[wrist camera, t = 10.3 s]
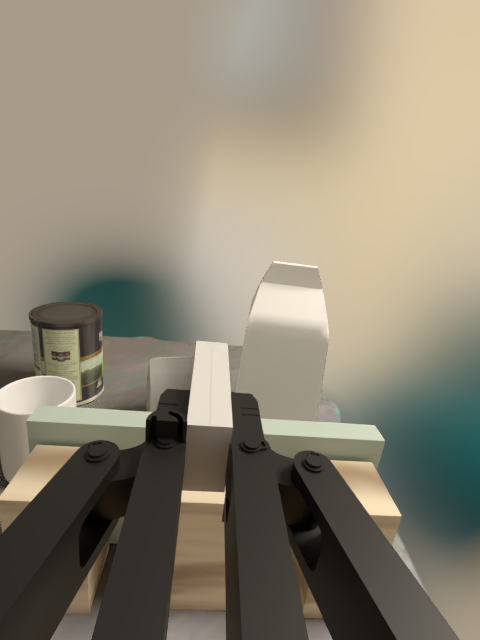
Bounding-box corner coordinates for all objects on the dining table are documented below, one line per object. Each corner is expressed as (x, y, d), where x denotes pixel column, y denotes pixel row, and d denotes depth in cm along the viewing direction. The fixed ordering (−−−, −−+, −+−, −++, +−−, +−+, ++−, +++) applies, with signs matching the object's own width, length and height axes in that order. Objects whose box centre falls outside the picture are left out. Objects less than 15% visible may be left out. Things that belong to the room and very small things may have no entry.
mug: (4, 435, 50) (-5, 367, 46) (71, 422, 54) (67, 358, 50) (2, 501, 40) (-10, 420, 37) (83, 478, 44) (80, 404, 41)
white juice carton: (193, 418, 58) (197, 361, 55) (149, 424, 55) (151, 364, 52) (188, 406, 61) (191, 351, 58) (146, 410, 59) (147, 353, 55)
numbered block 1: (368, 622, 32) (403, 518, 28) (302, 621, 32) (327, 515, 28) (345, 555, 38) (371, 462, 34) (289, 553, 38) (308, 458, 34)
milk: (226, 448, 52) (247, 267, 44) (234, 404, 63) (252, 252, 54) (311, 460, 52) (349, 279, 43) (305, 414, 62) (334, 262, 54)
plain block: (232, 610, 32) (248, 504, 28) (163, 609, 32) (169, 501, 28) (230, 547, 38) (243, 451, 34) (171, 545, 37) (177, 448, 33)
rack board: (353, 550, 39) (385, 440, 34) (38, 541, 36) (26, 420, 32) (346, 530, 41) (374, 425, 37) (49, 520, 38) (39, 405, 34)
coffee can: (93, 371, 68) (91, 298, 64) (112, 398, 61) (111, 318, 56) (30, 383, 62) (23, 304, 58) (43, 415, 55) (35, 326, 50)
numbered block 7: (88, 617, 30) (82, 506, 26) (12, 616, 30) (-5, 502, 26) (109, 548, 36) (107, 448, 32) (46, 546, 36) (36, 444, 32)
